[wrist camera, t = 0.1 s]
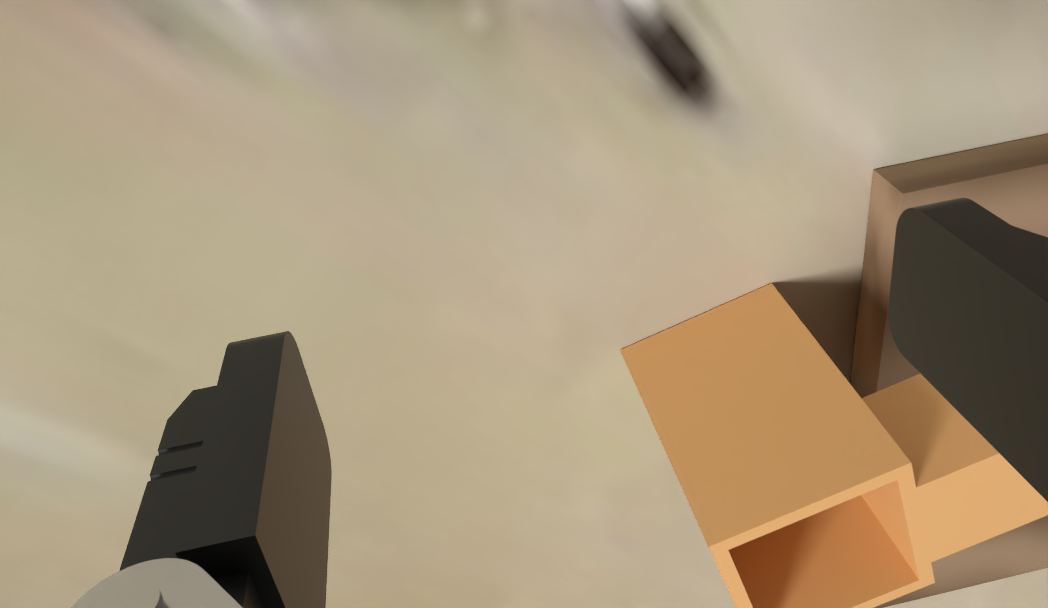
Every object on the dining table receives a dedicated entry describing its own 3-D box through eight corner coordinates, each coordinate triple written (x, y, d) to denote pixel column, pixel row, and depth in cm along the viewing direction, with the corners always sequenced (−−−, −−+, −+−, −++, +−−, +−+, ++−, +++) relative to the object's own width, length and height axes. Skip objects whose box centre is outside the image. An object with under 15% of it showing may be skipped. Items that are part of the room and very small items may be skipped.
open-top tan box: (666, 452, 38) (757, 654, 29) (620, 349, 34) (708, 546, 26) (891, 356, 37) (1049, 536, 28) (868, 240, 33) (1042, 407, 25)
